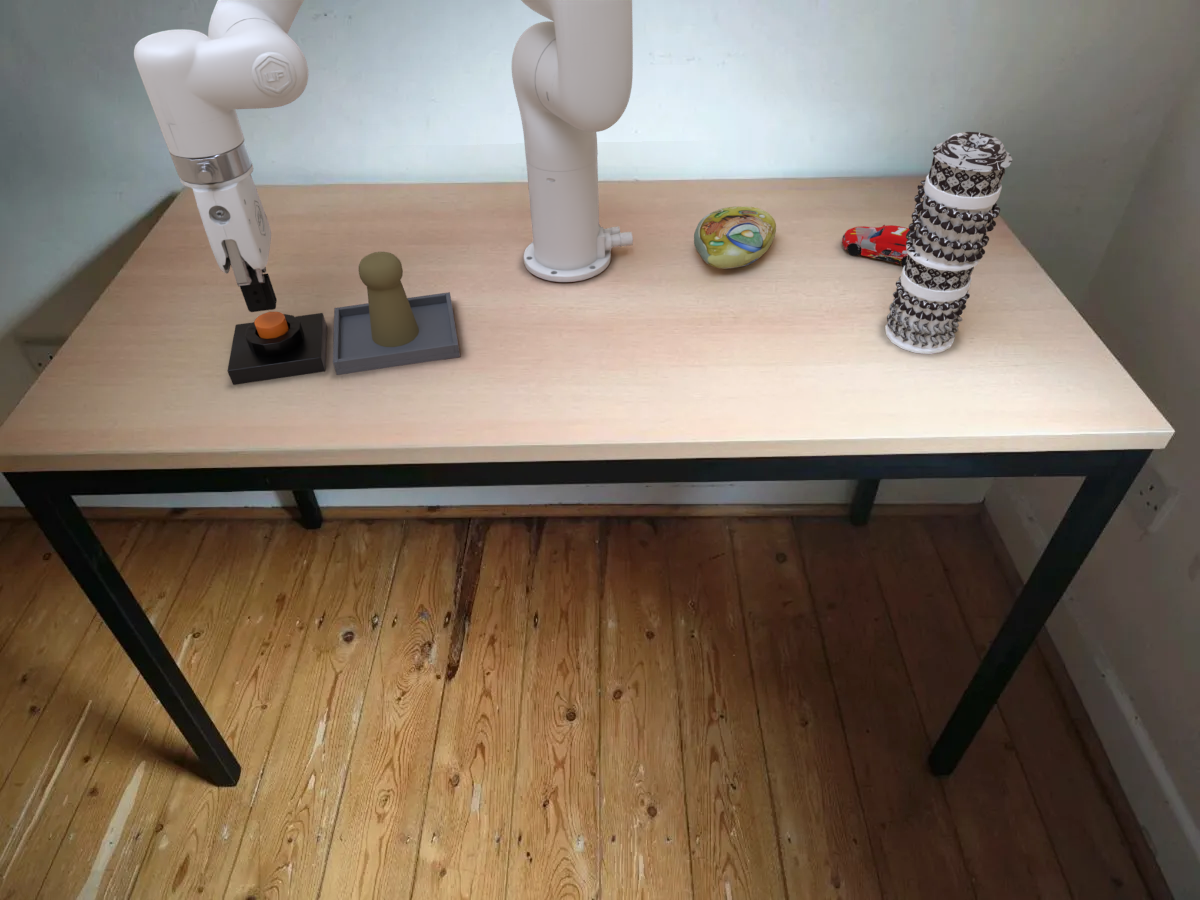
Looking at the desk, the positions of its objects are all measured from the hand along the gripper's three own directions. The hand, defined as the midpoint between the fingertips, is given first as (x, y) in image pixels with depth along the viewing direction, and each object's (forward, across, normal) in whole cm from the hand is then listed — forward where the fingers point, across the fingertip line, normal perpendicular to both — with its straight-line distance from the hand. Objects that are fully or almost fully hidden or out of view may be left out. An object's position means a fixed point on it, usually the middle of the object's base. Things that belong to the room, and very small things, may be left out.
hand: (263, 306), depth 101 cm
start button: (+4, 0, 0) cm, 4 cm away
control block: (+7, 0, 0) cm, 7 cm away
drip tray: (+7, 0, -15) cm, 16 cm away
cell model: (+7, +10, -64) cm, 65 cm away
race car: (+7, +4, -85) cm, 85 cm away
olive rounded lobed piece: (+6, 0, -15) cm, 16 cm away
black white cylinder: (+7, -15, -80) cm, 81 cm away
